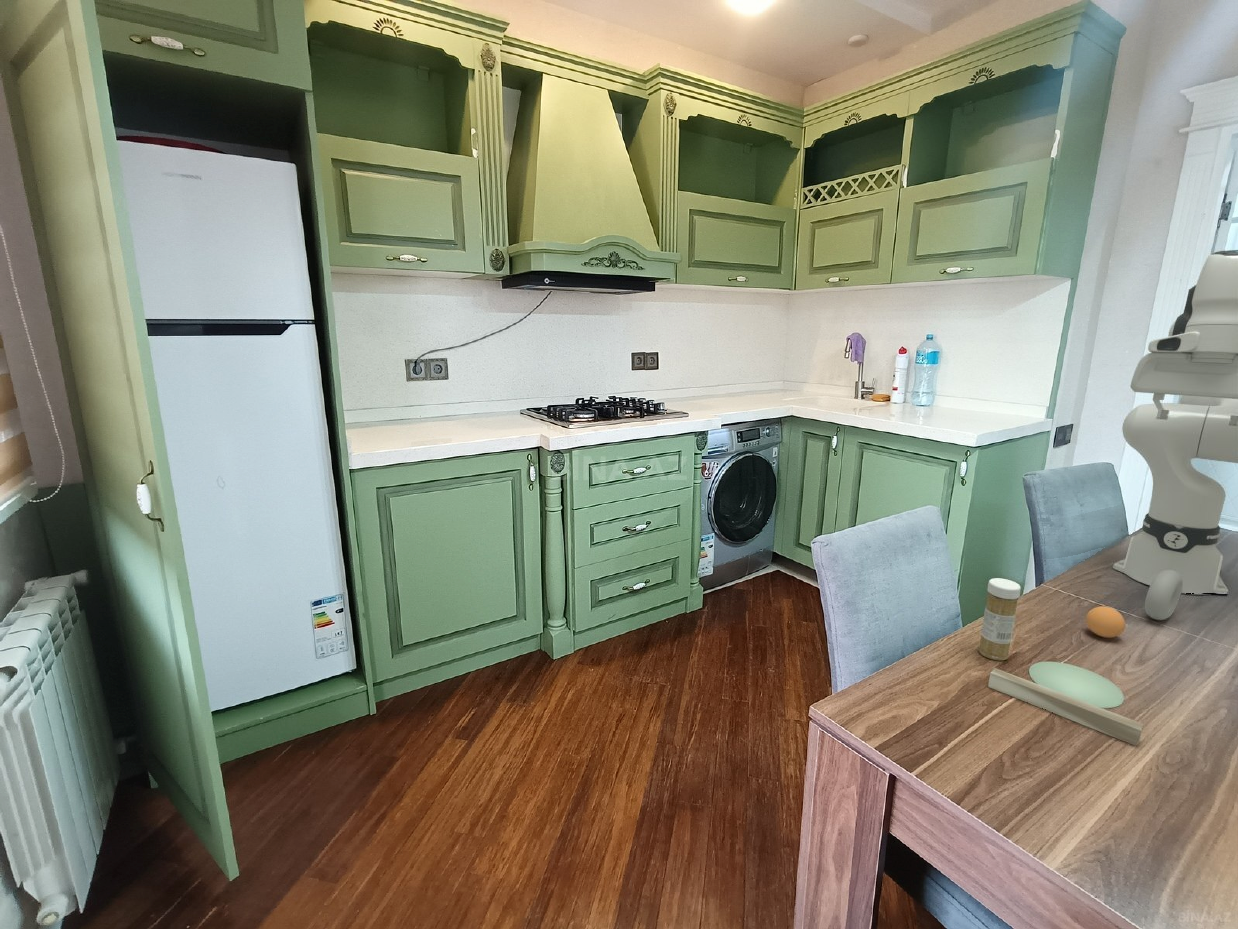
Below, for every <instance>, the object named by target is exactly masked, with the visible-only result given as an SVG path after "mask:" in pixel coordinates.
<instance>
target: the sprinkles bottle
mask: <svg viewBox="0 0 1238 929" xmlns="http://www.w3.org/2000/svg"><path fill="white" fill-rule="evenodd" d="M1021 589H1022V586H1021V585H1020V584H1019V583H1017V582H1015V581H1014V580H1009V579H1006V578H1002V577H1001V578H998V577H996V578H994V577H993V578H991V579H989V581H988V584H987V598H986V603H985V604H986V605H985V608H984V615H983V619H982V626H981V634H980V635H981V636H980V642H979V645H978V649H977V650H978V652H979V653H980V654H981V655H982V656H984V657H986V658H987V659H989V660H994V661H999V662H1000V661H1005V660H1008V659H1009V657H1010V656H1009V650H1010V646H1011V642H1012V638H1013V631H1014V627H1015V621H1016V612H1017V606H1018V600H1019V598H1020V595H1021Z"/></svg>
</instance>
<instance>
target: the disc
mask: <svg viewBox="0 0 1238 929" xmlns="http://www.w3.org/2000/svg"><path fill="white" fill-rule="evenodd" d="M1028 673H1029V674H1028V675H1029V677H1030V678H1031V679H1032V682H1033V683H1036V684H1039V685H1041V686H1044V687H1047V688H1049V689H1052V690H1055V691H1057V692H1060V693H1063V694H1065V695H1068V696H1070V697H1073V698H1076V699H1078V700H1081V701H1084V702H1086V703H1089V704H1092V705H1094V706H1097V707H1100V708H1102V709H1113V708H1117V707H1119V706H1122V704H1123V703H1124V700H1125V696H1124V694H1123V692H1122V691H1121V689H1120V688H1119V687H1118V686H1117V685H1116V684H1115V683H1113V682H1112V681H1110V680H1109V679H1108V678H1105V677H1104V676H1102V675H1100V674H1098V673H1095V671H1091V670H1089V669H1086V668H1083V667H1081V666H1077V665H1074V664H1069V663H1065V662H1059V661H1058V662H1057V661H1039V662H1035V663H1034V664H1032V665H1030V666H1029V670H1028Z"/></svg>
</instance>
